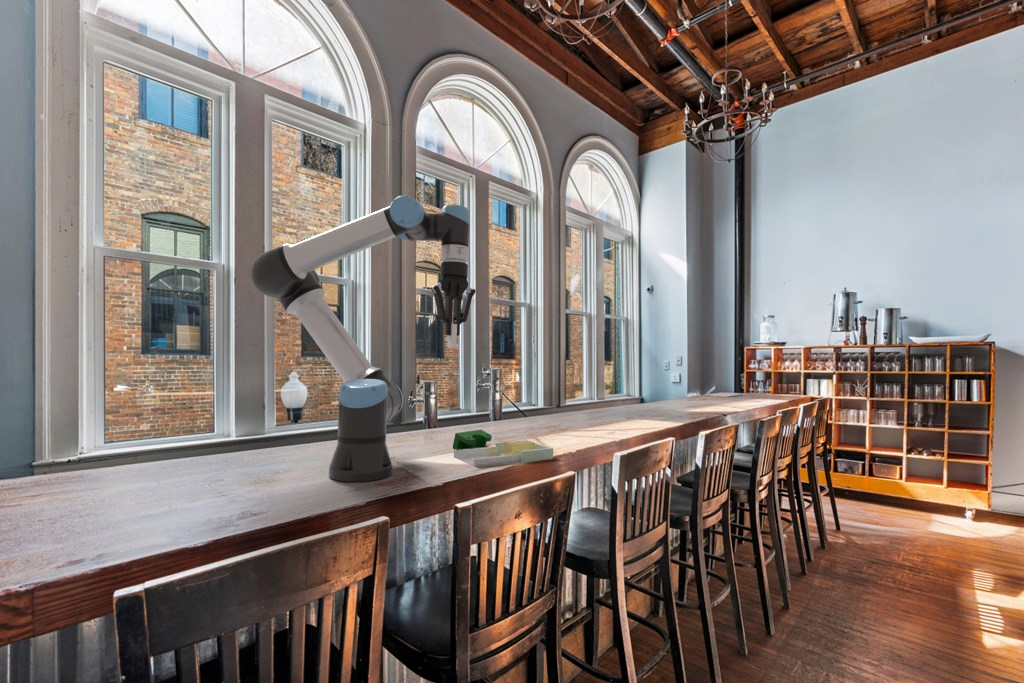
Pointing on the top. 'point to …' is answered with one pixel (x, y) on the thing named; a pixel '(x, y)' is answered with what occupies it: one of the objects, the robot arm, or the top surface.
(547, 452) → the tray
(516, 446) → the chip
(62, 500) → the top surface
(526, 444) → the pale yellow cube
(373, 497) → the top surface
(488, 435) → the clamp
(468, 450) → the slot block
